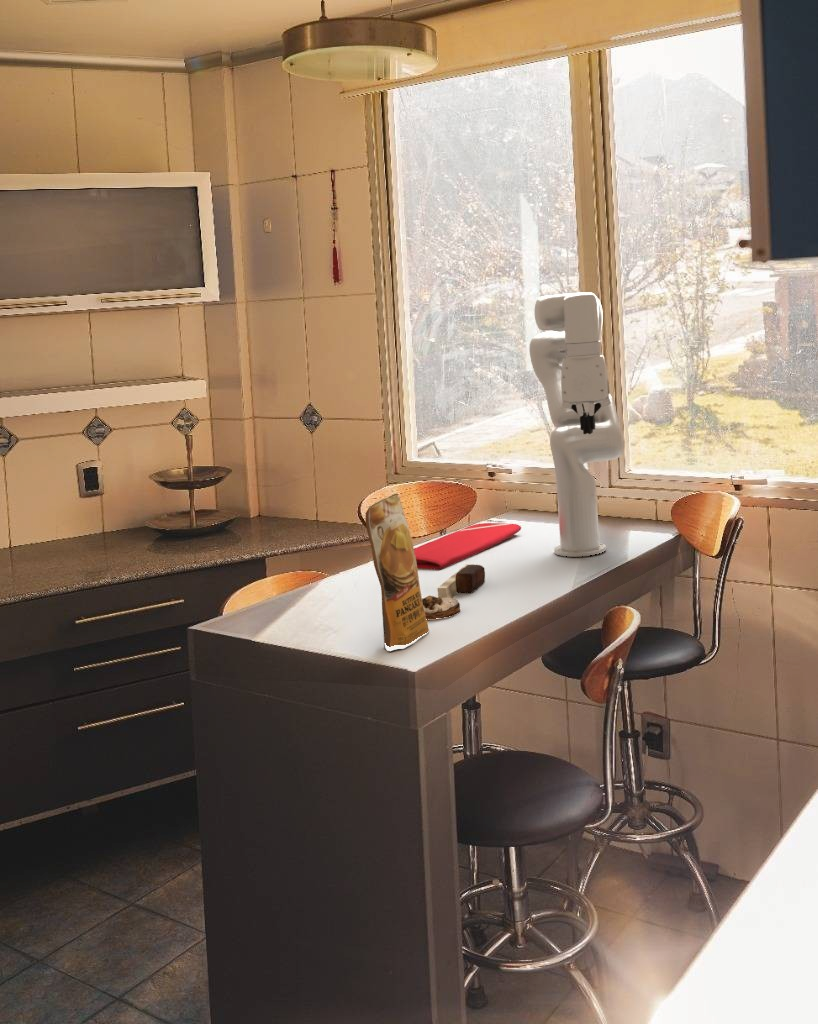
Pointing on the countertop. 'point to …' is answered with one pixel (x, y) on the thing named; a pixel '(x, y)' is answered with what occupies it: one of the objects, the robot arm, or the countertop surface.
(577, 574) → the countertop surface
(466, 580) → the brick
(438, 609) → the cream topped tart
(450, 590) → the beige long bar
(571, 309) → the robot arm
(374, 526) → the pancake mix bag
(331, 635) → the countertop surface
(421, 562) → the dish drying mat
